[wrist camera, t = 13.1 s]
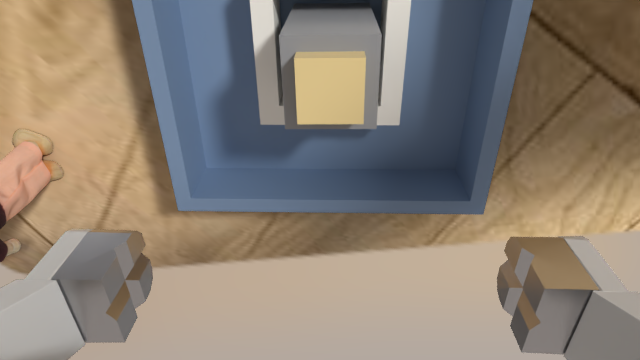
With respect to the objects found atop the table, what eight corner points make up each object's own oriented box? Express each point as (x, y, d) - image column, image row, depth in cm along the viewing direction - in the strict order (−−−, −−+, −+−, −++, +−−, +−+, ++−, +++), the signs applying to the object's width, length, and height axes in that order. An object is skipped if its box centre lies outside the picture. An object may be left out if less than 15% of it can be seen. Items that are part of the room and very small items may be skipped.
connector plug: (369, 2, 25) (383, 40, 18) (366, 76, 27) (378, 138, 20) (294, 3, 25) (276, 41, 18) (297, 76, 28) (283, 138, 20)
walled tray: (529, -166, 22) (576, -186, 17) (463, 174, 32) (483, 214, 28) (139, -160, 22) (92, -177, 18) (198, 172, 33) (178, 210, 29)
